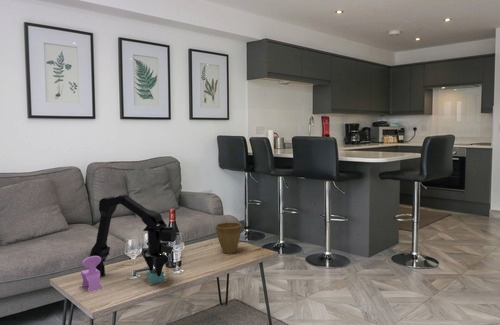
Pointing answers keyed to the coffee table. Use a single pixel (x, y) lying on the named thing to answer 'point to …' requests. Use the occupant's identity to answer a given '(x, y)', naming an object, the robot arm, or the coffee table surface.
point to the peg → (155, 283)
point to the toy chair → (91, 273)
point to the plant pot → (229, 236)
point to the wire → (140, 271)
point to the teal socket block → (154, 277)
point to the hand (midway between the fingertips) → (155, 273)
